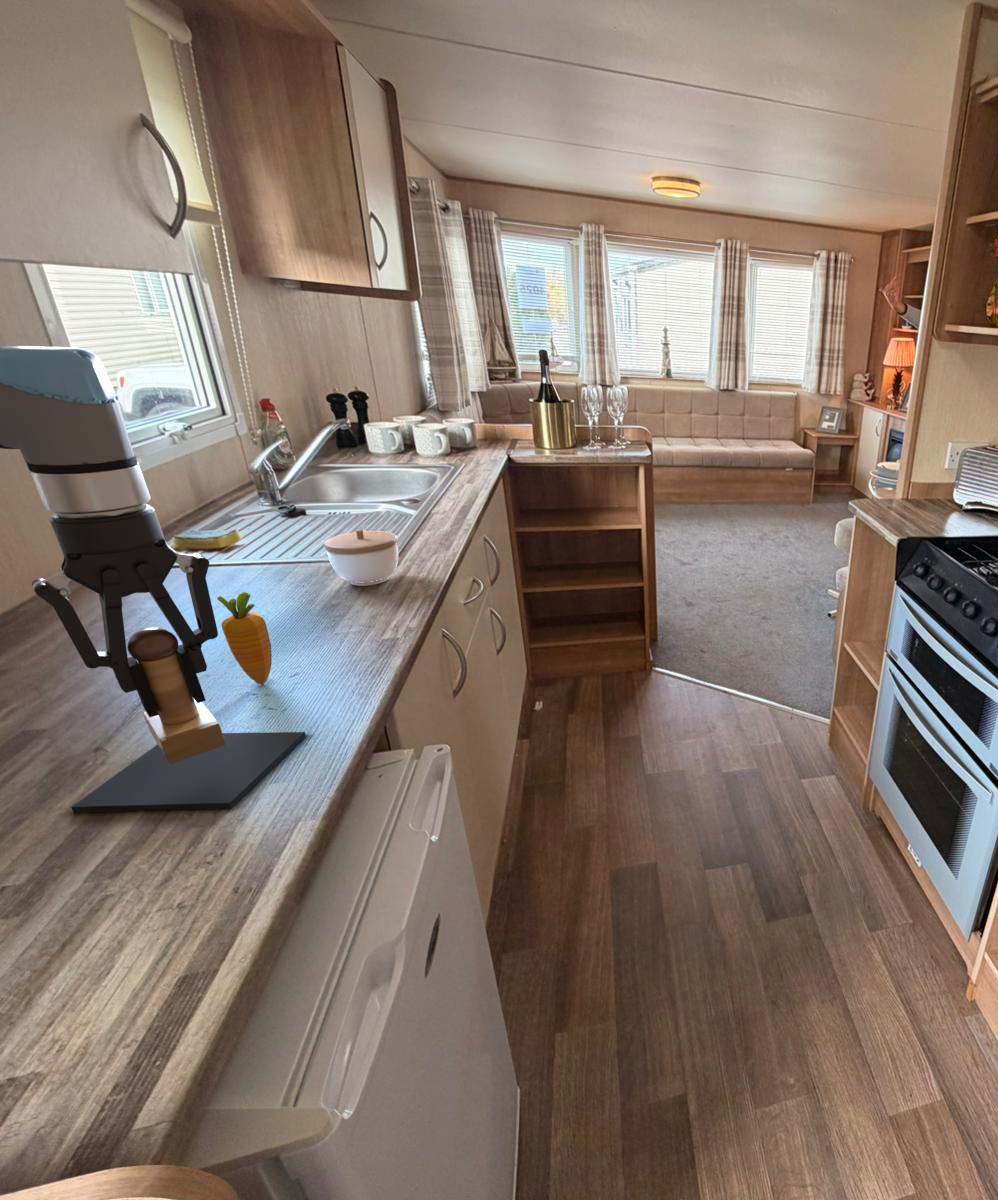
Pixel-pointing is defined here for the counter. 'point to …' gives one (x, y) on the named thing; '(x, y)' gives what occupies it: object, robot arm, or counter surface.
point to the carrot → (248, 638)
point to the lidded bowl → (363, 556)
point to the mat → (193, 776)
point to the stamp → (173, 698)
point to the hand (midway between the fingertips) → (175, 704)
